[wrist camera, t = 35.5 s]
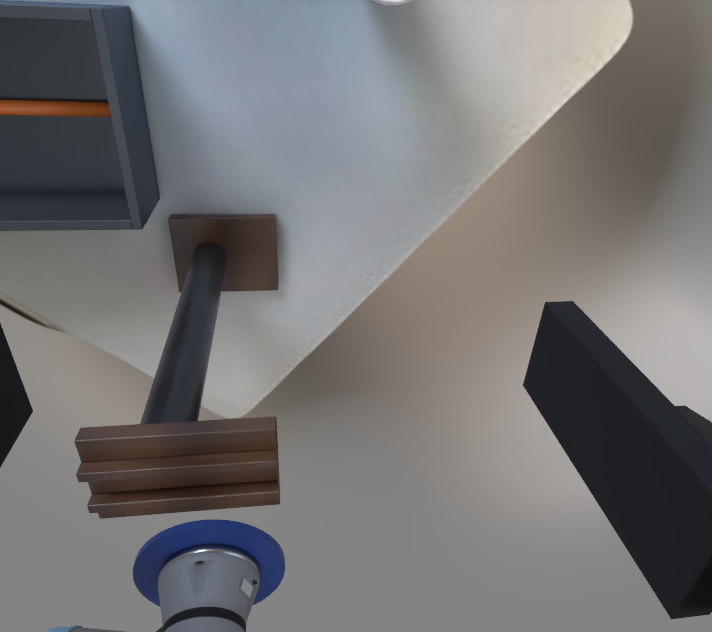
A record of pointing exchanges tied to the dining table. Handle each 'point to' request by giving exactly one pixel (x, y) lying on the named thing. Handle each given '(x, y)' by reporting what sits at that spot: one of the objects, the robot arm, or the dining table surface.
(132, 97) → the bin
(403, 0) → the smoothie
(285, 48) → the dining table surface
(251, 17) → the dining table surface
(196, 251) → the stand
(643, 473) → the robot arm
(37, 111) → the orange rod
